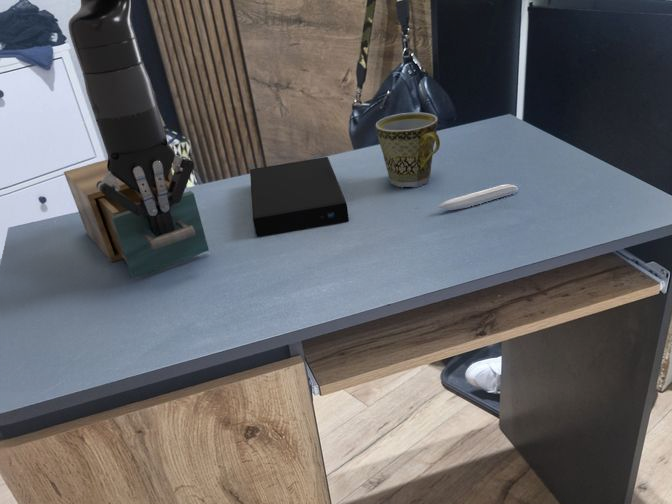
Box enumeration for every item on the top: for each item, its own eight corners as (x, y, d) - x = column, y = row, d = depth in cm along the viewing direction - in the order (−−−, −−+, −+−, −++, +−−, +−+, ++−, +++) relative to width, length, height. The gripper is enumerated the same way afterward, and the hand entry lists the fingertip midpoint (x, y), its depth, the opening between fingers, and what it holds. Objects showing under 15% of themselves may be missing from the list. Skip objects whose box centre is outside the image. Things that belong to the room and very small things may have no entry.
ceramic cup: (369, 182, 110) (363, 123, 105) (415, 166, 114) (412, 108, 109) (415, 202, 101) (412, 138, 95) (464, 183, 105) (463, 121, 99)
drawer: (222, 261, 89) (207, 201, 84) (144, 290, 85) (123, 229, 80) (176, 224, 103) (160, 170, 98) (106, 247, 98) (86, 193, 93)
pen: (435, 213, 97) (435, 202, 96) (514, 190, 100) (514, 180, 99) (441, 216, 95) (440, 206, 94) (520, 193, 99) (520, 183, 98)
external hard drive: (330, 172, 117) (328, 156, 115) (349, 221, 98) (346, 202, 96) (253, 185, 116) (249, 169, 114) (256, 237, 97) (252, 218, 95)
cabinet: (189, 235, 101) (171, 169, 95) (111, 262, 96) (87, 195, 90) (158, 210, 111) (140, 150, 105) (87, 233, 106) (63, 171, 100)
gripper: (166, 89, 83) (199, 215, 93) (63, 115, 78) (110, 245, 87) (187, 97, 77) (220, 229, 87) (77, 125, 72) (126, 263, 82)
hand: (165, 237), depth 87 cm, fingers closed
